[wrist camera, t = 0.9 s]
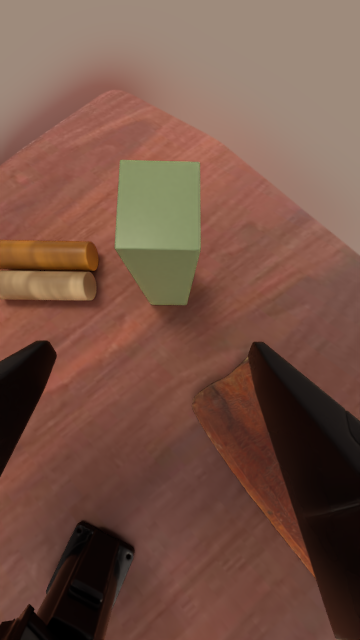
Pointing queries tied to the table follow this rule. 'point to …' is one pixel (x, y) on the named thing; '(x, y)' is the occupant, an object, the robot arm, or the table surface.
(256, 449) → the wooden tablet
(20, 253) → the rods
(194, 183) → the bar
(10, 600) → the table surface
